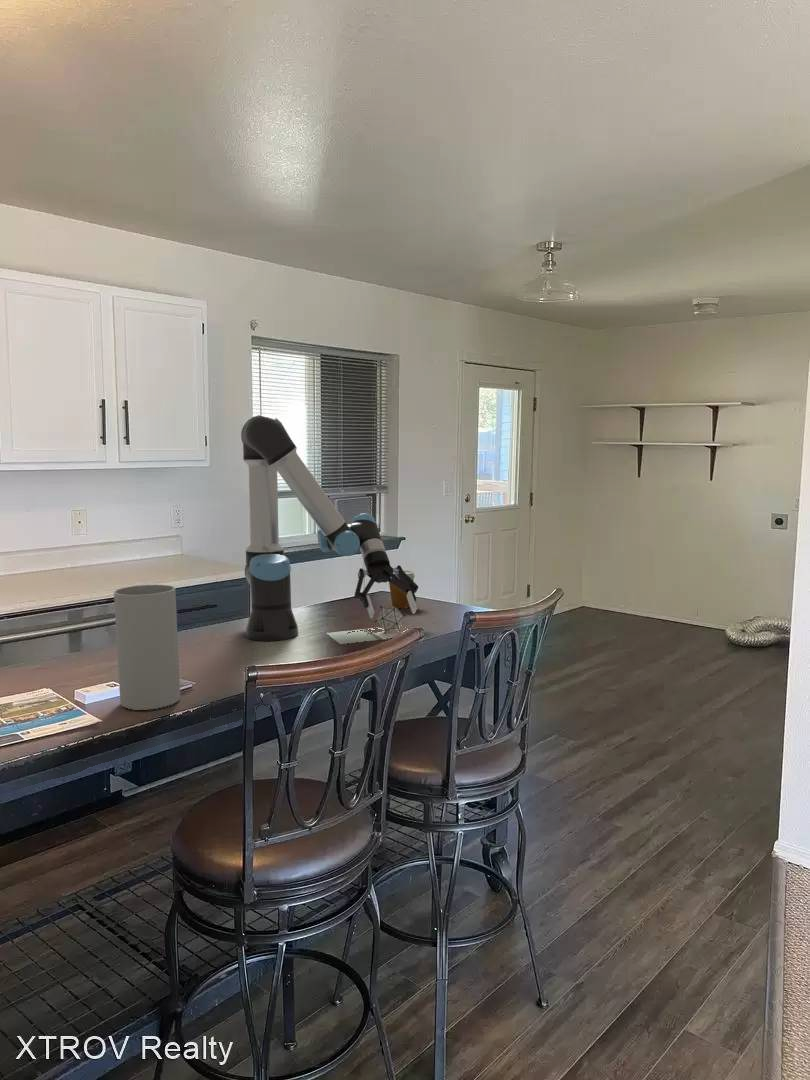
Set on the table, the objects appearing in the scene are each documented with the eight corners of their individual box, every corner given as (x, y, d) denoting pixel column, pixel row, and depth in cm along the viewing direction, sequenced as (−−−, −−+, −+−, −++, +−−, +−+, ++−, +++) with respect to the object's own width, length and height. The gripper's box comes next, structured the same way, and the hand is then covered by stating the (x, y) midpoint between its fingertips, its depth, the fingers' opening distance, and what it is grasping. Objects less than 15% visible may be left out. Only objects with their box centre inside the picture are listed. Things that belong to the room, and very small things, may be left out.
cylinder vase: (191, 701, 171) (186, 588, 168) (139, 716, 162) (133, 597, 159) (161, 690, 179) (155, 582, 176) (109, 703, 170) (103, 590, 167)
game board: (340, 644, 219) (340, 643, 219) (325, 633, 232) (325, 633, 232) (418, 635, 228) (418, 635, 228) (400, 625, 241) (400, 625, 241)
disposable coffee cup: (419, 605, 272) (419, 571, 270) (407, 610, 263) (406, 575, 262) (395, 603, 276) (395, 569, 275) (382, 608, 268) (382, 573, 266)
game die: (395, 644, 232) (405, 622, 226) (368, 634, 232) (377, 612, 225) (401, 624, 239) (411, 602, 233) (375, 614, 239) (384, 592, 232)
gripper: (408, 561, 251) (428, 616, 240) (334, 567, 242) (351, 624, 230) (414, 546, 246) (435, 602, 234) (339, 552, 236) (356, 610, 224)
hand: (393, 613), depth 232 cm, fingers open, 13 cm apart
